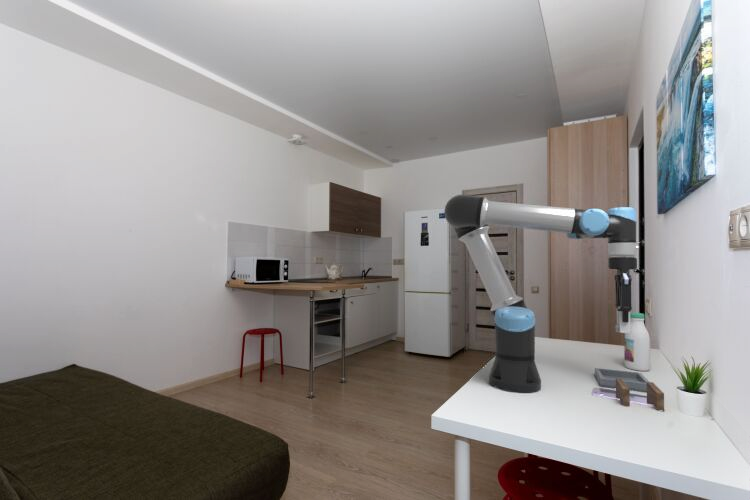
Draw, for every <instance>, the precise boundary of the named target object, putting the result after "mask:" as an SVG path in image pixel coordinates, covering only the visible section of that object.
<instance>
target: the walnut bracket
mask: <svg viewBox="0 0 750 500" xmlns="http://www.w3.org/2000/svg"><path fill="white" fill-rule="evenodd" d="M615 391H616V393H617V395H618V397H619V398H620V400H619V401H620V403H621V405H622V404H623V405H625V406H624V407H629V406H630V404H631V403H630V391H631V390H630V389H629V388H628V387H627V385H626V384H625V383H624V381H623V380H622V379H618V378H616V389H615ZM646 396H647V397H648V398H649V399H650V401H651V402H652V403H653V404H654V406H655V407H654V406H653V407H654V408H655V410H656V411H658V410H663V411H662V412H665V393H664V392H663V391H662V390H661V389H660V388H659V387H658V385H656V384H655V383H654V382H652V381H649V382H647V392H646ZM623 405H622V406H623ZM630 407H631V406H630Z"/></svg>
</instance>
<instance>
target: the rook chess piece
mask: <svg viewBox="0 0 750 500" xmlns="http://www.w3.org/2000/svg"><path fill="white" fill-rule="evenodd" d="M617 309H620V306H618V308H616V310H617ZM618 312H619V311H618ZM614 328H615V329H614V331H615V332H616V333H619V334H620V323H619V313H618V323H617V322H616V324H615V326H614ZM631 332H632V331H631V327H630V333H631Z"/></svg>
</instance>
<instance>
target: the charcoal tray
mask: <svg viewBox="0 0 750 500" xmlns="http://www.w3.org/2000/svg"><path fill="white" fill-rule="evenodd" d="M594 376H595V378H596V380H597V382H598V384H599V386H600V388H606V389H615V388H616V378H618V379H622V380H623V381H624V383H625V384H626V385H627V387H628V388H629V389H630V391H632V390H633V391H632V392H641V393H647V382H650V381H649V380H648V378H646V377H645V376H644V375H643V374H642V372H640V371H639V372H638V371H627V370H618V369H609V368H601V367H600V368H598V367H594Z"/></svg>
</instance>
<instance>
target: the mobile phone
mask: <svg viewBox="0 0 750 500" xmlns="http://www.w3.org/2000/svg"><path fill="white" fill-rule="evenodd" d="M590 395H591V396H594V397H598V396H599V397H600V398H604V397H605V398H604V399H609V398H613V399H612V400H614V399H620V398H619V397H618V395H617V393H616V390H613V389H610V388H604V387H595V386H594V387H593V388H592V390H591V392H590ZM630 402H633V403H632V404H636V403H639V404H638V405H641V404H643V406H646V405H649V406H648V407H654V404H653V403H652V402H651V401H650V399H649V398H648V397H647V395H642V394H636V393H630Z"/></svg>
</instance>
